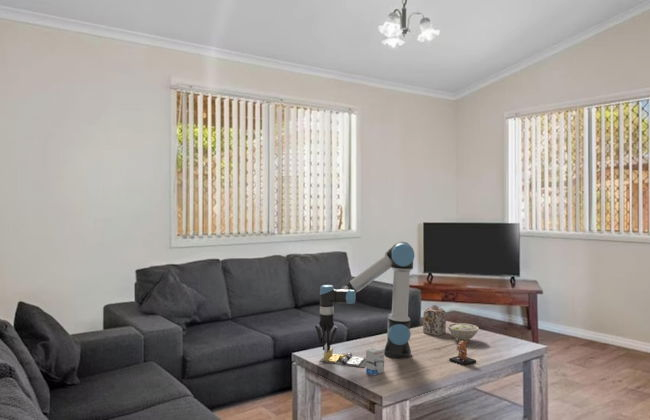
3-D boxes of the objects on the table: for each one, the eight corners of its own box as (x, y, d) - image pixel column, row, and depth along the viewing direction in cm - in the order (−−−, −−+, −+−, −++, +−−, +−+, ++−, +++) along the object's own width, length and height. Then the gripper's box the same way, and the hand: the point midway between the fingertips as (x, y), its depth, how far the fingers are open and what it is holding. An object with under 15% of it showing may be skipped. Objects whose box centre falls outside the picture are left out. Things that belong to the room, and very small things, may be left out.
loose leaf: (347, 357, 268) (347, 349, 268) (341, 363, 257) (341, 356, 257) (331, 354, 272) (331, 347, 272) (323, 361, 260) (323, 354, 260)
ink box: (372, 375, 241) (372, 352, 241) (365, 373, 245) (365, 349, 245) (384, 372, 246) (384, 349, 246) (377, 369, 250) (377, 346, 250)
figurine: (449, 361, 265) (449, 339, 265) (461, 357, 271) (461, 336, 271) (464, 366, 257) (464, 343, 257) (476, 362, 263) (476, 340, 262)
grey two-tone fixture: (370, 359, 266) (370, 359, 266) (364, 367, 252) (364, 367, 252) (327, 354, 274) (327, 353, 274) (319, 362, 261) (319, 361, 261)
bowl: (442, 342, 301) (442, 326, 300) (452, 335, 317) (452, 319, 317) (474, 347, 290) (474, 330, 290) (482, 339, 307) (482, 324, 307)
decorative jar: (429, 329, 330) (430, 303, 330) (446, 332, 324) (446, 305, 323) (422, 333, 321) (422, 306, 320) (439, 336, 314) (439, 308, 314)
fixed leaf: (364, 358, 266) (364, 353, 266) (358, 366, 253) (358, 360, 253) (347, 356, 269) (347, 351, 269) (340, 364, 257) (340, 358, 257)
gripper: (340, 313, 267) (339, 355, 268) (318, 311, 272) (317, 352, 272) (335, 316, 260) (335, 359, 261) (313, 314, 265) (312, 356, 265)
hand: (326, 356), depth 266 cm, fingers closed
